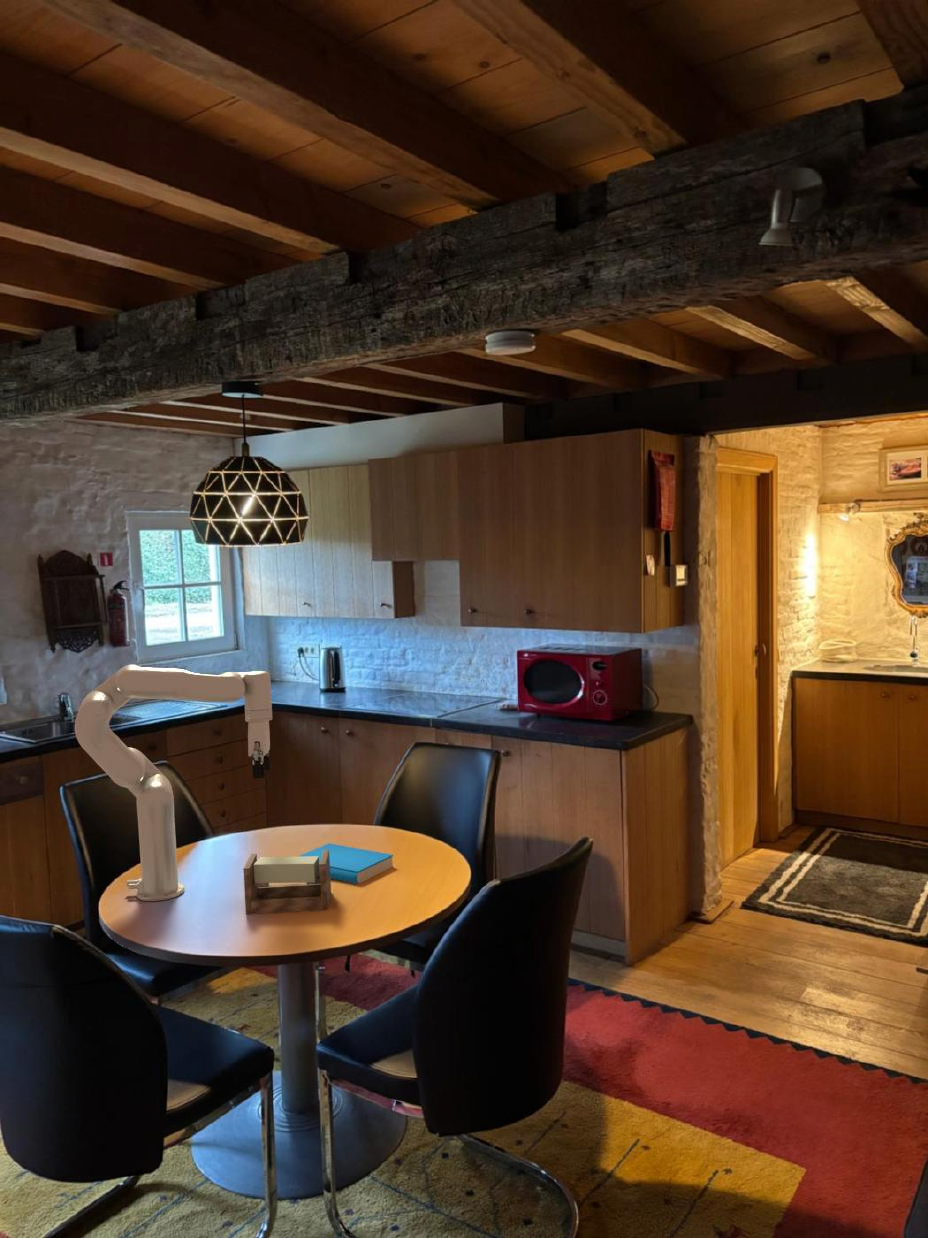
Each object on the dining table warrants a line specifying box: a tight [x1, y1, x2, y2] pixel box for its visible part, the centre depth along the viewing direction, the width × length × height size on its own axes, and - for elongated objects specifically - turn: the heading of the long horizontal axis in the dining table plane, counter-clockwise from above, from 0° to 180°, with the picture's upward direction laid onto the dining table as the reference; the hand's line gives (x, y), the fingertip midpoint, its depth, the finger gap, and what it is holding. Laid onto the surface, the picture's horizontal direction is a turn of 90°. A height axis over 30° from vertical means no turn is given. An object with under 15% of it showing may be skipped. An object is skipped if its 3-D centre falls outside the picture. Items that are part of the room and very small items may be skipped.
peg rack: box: [242, 850, 332, 915], centre depth 247 cm, size 21×12×12 cm, turn 94°
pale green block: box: [254, 856, 320, 884], centre depth 247 cm, size 16×6×5 cm, turn 86°
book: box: [296, 842, 394, 885], centre depth 274 cm, size 17×4×25 cm
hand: (261, 774), depth 266 cm, fingers open, 9 cm apart
